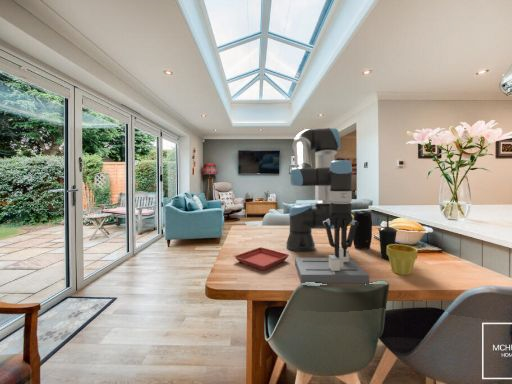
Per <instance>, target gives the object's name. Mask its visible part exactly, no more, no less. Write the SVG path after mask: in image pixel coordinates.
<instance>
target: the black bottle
mask: <svg viewBox="0 0 512 384" xmlns="http://www.w3.org/2000/svg"><path fill="white" fill-rule="evenodd" d="M389 218H390V215H386V226H382V227H379V228H378V235H379V236H378V237H379V248H380V258H381V259H382V260H384V261H390V260H389V256H388V255H387V246H388V245H391V244H396V239H397V232H398V230H397V229H396V228H394V227H391V226H389V223H390V221H389V220H390V219H389Z"/></svg>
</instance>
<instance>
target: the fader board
mask: <svg viewBox="0 0 512 384" xmlns="http://www.w3.org/2000/svg"><path fill="white" fill-rule="evenodd" d="M294 266H295V269H296V271H297V274H298V277H299V281H300V284H301V283H302V284H304V283H303V282H322V283H321V284H370V274H369V273H368V272H367V271H366V270H365V269H364V268H362V267H361V265H359V264H358V263H357V262H356V261H355V260H354V259H353V258H352V257H349V262H343V267H340V271H331V269H330V268H329V257H294Z"/></svg>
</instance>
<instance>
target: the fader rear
mask: <svg viewBox="0 0 512 384" xmlns="http://www.w3.org/2000/svg"><path fill="white" fill-rule="evenodd" d="M349 258H350V250H349V249H348V248H347V249H346V257H343V262H349Z"/></svg>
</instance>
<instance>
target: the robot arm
mask: <svg viewBox="0 0 512 384" xmlns="http://www.w3.org/2000/svg"><path fill="white" fill-rule="evenodd" d="M291 146H292V150H293V152H294V167H292V168H291V169H290V185H291V186H292V187H293V186H295V187H296V186H297V187H311V186H312V187H313V186H315V187H316V186H317V189H318V191H317V193H318V194H317V195H318V197H317V198H318V200H317V201H316V202H315V205H314V206H313V205H312V203H303V204H295V205H293V206H291V207H290V208H289V214H288V216H289V235H288V238H287V241H286V244H285V245H286V246H285V247H286V248H287V249H288V250H290V251H294V252H310V251H314V250H315V249H316V242H315V241H314V238H313V234H312V230H313V229H314V230H315V229H316V230H317V229H318V230H326V236H327V239H328V243H329V246H331V247H332V248H334V255H335V256H336V257H339V258H340V267H343V257H346V249H348V248H351V247H352V245H353V238H354V234H355V230H356V227H357V226H358V225H359V222H357V221H355V220H354V219H353V218H354V216H353V215H352V212H353V211H352V210H353V209H352V207H353V206H352V203H351V202H352V201H353V200H352V199H353V196H352V193H353V192H352V191H353V189H352V187H353V186H352V183H353V166H352V165H353V164H352V161H351V160H348V159H344V160H343V159H340V160H335V156H336V155H337V154H338V151H339V150H340V149H341V136H340V133H339V130H338V129H337V128H336V127H335V128H334V127H333V128H332V127H331V128H330V127H325V128H308V129H304V130H302V131H300V132H299V133H298V134H297V135H296V136H295V137H294V138H293V141H292V145H291ZM311 151H313V152H314V155H315V156H316V157H317V167H313V165H312V164H313V163H312V157H311ZM349 225H350V227H349V231H348V226H349ZM332 230H334V231H333V233H332ZM340 231H341V232H340ZM347 231H348V233H347ZM333 234H334V236H333ZM333 237H334V238H333ZM340 244H341V246H340Z"/></svg>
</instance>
